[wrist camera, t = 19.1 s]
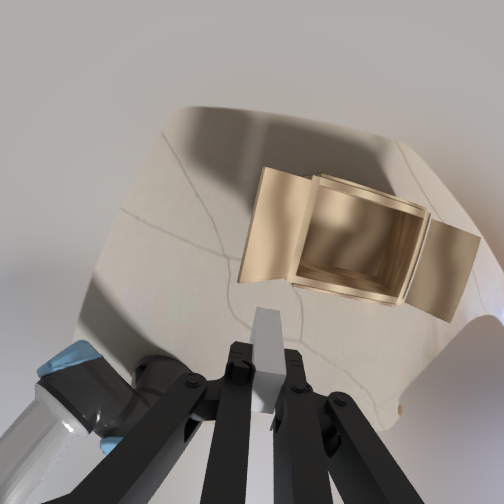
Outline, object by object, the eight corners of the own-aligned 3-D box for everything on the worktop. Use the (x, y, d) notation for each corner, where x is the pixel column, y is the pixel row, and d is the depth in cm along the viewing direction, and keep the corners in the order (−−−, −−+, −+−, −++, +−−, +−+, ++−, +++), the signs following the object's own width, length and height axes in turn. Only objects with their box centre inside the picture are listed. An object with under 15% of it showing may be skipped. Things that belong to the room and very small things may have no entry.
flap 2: (449, 323, 30) (450, 322, 31) (480, 237, 27) (480, 237, 28) (404, 302, 36) (405, 301, 36) (431, 218, 32) (432, 219, 33)
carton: (281, 262, 46) (285, 284, 36) (303, 173, 42) (314, 171, 33) (377, 284, 46) (399, 307, 37) (401, 203, 42) (431, 210, 33)
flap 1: (287, 277, 36) (285, 276, 36) (312, 180, 32) (309, 179, 33) (239, 283, 30) (237, 282, 30) (265, 166, 27) (262, 166, 27)
